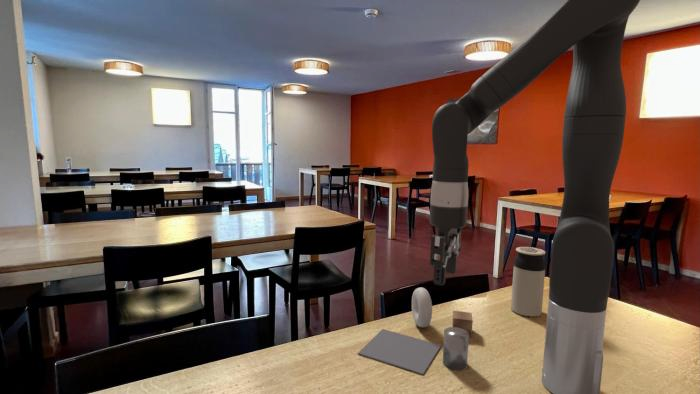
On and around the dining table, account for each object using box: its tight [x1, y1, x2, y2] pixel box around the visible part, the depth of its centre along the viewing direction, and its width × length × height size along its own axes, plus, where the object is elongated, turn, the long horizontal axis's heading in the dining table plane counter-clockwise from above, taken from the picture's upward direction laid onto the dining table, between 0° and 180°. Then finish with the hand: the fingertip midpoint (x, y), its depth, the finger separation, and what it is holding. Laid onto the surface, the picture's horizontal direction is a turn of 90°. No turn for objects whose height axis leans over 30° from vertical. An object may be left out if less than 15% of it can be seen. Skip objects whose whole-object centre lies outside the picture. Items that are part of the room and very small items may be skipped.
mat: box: [357, 328, 442, 376], centre depth 84 cm, size 15×13×1 cm
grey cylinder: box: [442, 326, 470, 372], centre depth 78 cm, size 5×5×7 cm
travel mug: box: [510, 246, 546, 318], centre depth 104 cm, size 8×8×18 cm
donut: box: [411, 287, 433, 328], centre depth 95 cm, size 10×4×10 cm, turn 5°
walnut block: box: [451, 310, 474, 339], centre depth 92 cm, size 4×4×4 cm
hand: (445, 278), depth 78 cm, fingers open, 8 cm apart
